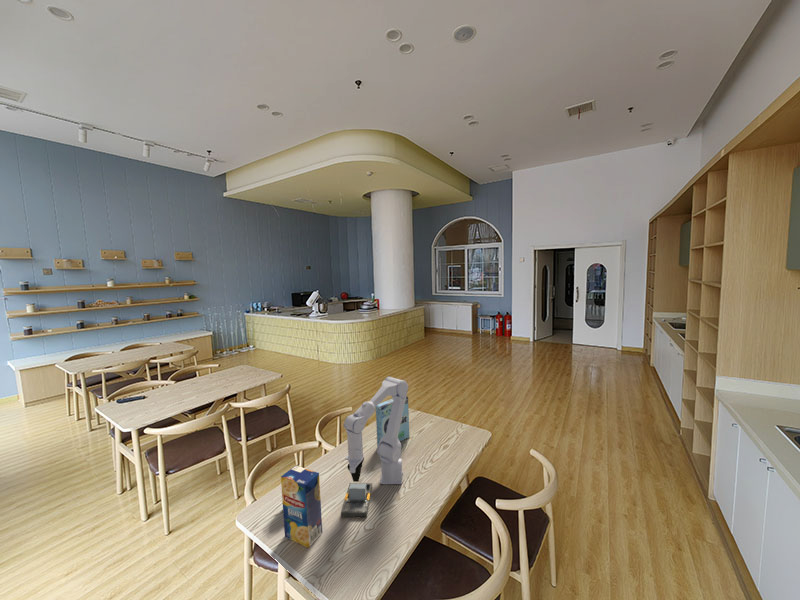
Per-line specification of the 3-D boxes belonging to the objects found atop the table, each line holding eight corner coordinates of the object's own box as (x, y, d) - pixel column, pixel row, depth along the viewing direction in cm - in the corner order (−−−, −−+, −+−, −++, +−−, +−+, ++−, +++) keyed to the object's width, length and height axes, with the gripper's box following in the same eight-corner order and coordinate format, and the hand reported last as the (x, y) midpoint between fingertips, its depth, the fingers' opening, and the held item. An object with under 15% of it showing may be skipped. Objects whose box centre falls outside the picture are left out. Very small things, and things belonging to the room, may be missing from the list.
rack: (372, 487, 133) (372, 482, 133) (367, 517, 117) (366, 511, 116) (349, 487, 133) (349, 482, 133) (340, 517, 117) (340, 511, 117)
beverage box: (299, 522, 115) (295, 465, 113) (322, 532, 110) (319, 473, 108) (284, 536, 109) (280, 476, 107) (308, 548, 104) (305, 485, 102)
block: (349, 503, 124) (348, 488, 123) (351, 497, 126) (350, 483, 126) (365, 503, 123) (365, 488, 123) (366, 497, 126) (366, 483, 126)
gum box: (382, 451, 160) (381, 407, 158) (376, 447, 164) (374, 405, 162) (410, 437, 173) (408, 396, 171) (403, 433, 177) (402, 394, 175)
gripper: (348, 436, 130) (350, 467, 132) (340, 456, 116) (342, 491, 117) (365, 436, 130) (367, 467, 131) (359, 456, 116) (361, 491, 117)
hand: (356, 479), depth 124 cm, fingers closed
